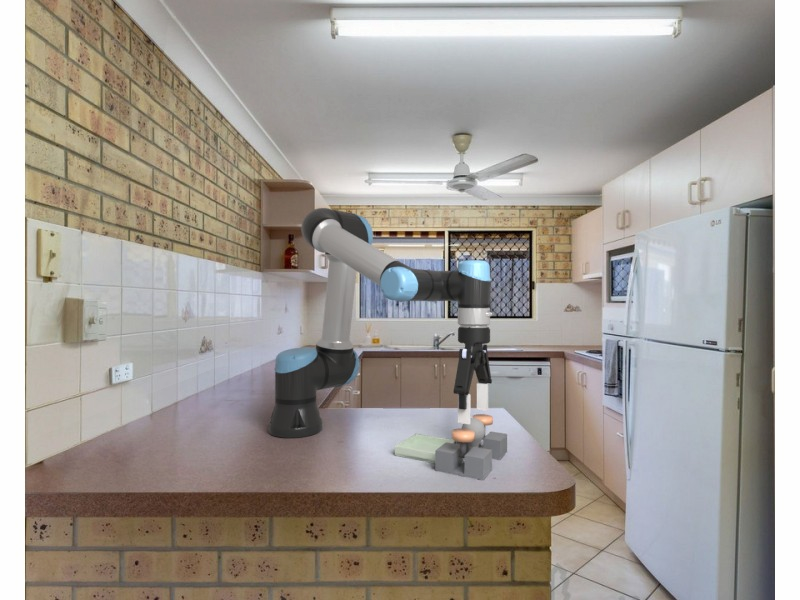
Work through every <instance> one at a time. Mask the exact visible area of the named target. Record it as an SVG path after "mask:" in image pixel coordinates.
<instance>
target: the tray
mask: <svg viewBox="0 0 800 600" xmlns="http://www.w3.org/2000/svg"><path fill="white" fill-rule="evenodd" d="M446 442H448V443H454V444H457V441H454V440H453V439H452V438H451V439H450V438H449V439H448V438H444V437H439V436H433V435H426V434H421V433H420V434H418V433H415V434H412V435H411V436H410V437H408V438H406V439H404V440H403V441H401V442H400V443H398V444H396V445H395V446H394V456H397V457H401V458H406V459H411V460H415V461H416V460H417V461H422V462H427V463H432V464H435V450H437V449H438V448H439V447H441V446H442V445H443V444H444V443H446Z"/></svg>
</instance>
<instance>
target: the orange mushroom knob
mask: <svg viewBox="0 0 800 600" xmlns="http://www.w3.org/2000/svg"><path fill="white" fill-rule="evenodd" d="M472 418H476V419H479V420H480V421H481V422H482V423H483V424H484V427H485V428H486V427H487V426H491V425H493V424H494V416H492V415H489V414H485V413H483V414H481V413H478V414H477V413H476V414H473V415H472ZM485 436H486V434H485V435H484V437H485ZM484 437H483V438H484ZM482 441H483V439H482Z"/></svg>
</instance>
